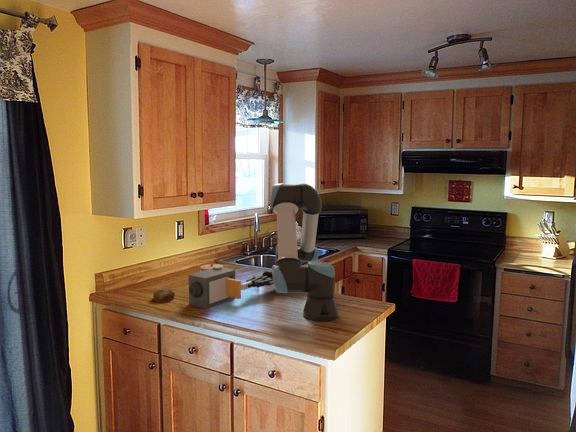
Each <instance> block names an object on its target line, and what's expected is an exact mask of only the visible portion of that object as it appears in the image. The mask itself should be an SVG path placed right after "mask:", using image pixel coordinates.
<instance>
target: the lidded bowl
mask: <svg viewBox="0 0 576 432" xmlns="http://www.w3.org/2000/svg"><path fill="white" fill-rule="evenodd" d="M216 266H219V267H222V268H225V267H224V265H223V264H218V263H213V262H210V263H207V264H203V265H201V266H199V270H200V271H199V272H201V271H204V270H208V269H212V268H213V267H216Z"/></svg>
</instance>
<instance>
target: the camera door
mask: <svg viewBox="0 0 576 432" xmlns="http://www.w3.org/2000/svg"><path fill="white" fill-rule="evenodd" d="M241 284H242V281H241V279H236V278H235V279H231V278H228V277H224V278H221V279H217V280H214V281H210V282H209V304H211V303H214V302H217V301H220V300H222V299H225V298H228V297H232V298H234V299H236V300H240V299H242V290H241Z"/></svg>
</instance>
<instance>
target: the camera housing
mask: <svg viewBox="0 0 576 432" xmlns="http://www.w3.org/2000/svg"><path fill="white" fill-rule="evenodd" d="M187 276H188V305H190V304H191V305H190V306H195V307H197V308H198V307H200V308H202V309H209V308H212V307H214V306H217V305H219V304H223V303H227V302H228V301H230V300H231V301H232V300H234V299H235V298H232V297H228V298H225V299H222V300H220V301H217V302H214V303H211V304H209V282H210V281H214V280H217V279H221V278H224V277H228V278H231V279H236V269H232V268H227V267H226V268H225V267H224V268H222V267H219V266H216V267H213V268H212V269H208V270H204V271H201V272H200V271H198V272H194V273H190V274H188V275H187Z"/></svg>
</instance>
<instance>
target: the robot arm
mask: <svg viewBox="0 0 576 432" xmlns="http://www.w3.org/2000/svg"><path fill="white" fill-rule="evenodd" d="M322 207H323V206H322V199H321V196H320V194H319V192H318V191H317V190H316V189H315V188H314V187H313V186H312V185H310V184H307V183H283V182H282V183H275V184H273V185H272V188H271V194H270V204H269V208H270V209H272V210H273V213H274V214H276V230H277V244H276V246H275V262H274V265H272V267H271V269H269V270H266V271H264V272H263V273H262V274H261V275H259V276H257V277H256V275H252V276H251V277H249V278H248V279H246V282H243V283H241V291H245V290H247V289H250V288H255V287H256V288H262V287H265V286H266V287H267V286H268V287H269V286H273V288H274V290H275V292H276V293H278V294H297V293H298V294H300V293H301V294H306V293H307V294H306V295H307V297H306V298H307V299H306V300H305V305H304V306H303V311H302V316H303V317H304V318H305V319H307V320H309V321H314V320H315V322H316V321H317V322H327V321H328V320H329V321H332V320H333V319H334V320H336V319H337V318H338V317H339V311H338V307H337V303H336V301H335V281H336V280H335V278H336V274H335V267H334V265H332V264H330V263H328V262H325V261H318V258H319V250H318V248H317V247H316V241H317V231H318V230H317V229H318V223H319V214H320V213H321V212H322ZM299 209H301V211H302V224H301V236H300V247H299V246H298V242H297V241H298V240H297V239H298V238H297V224H296V223H297V221H296V214H297V212H299ZM302 262H303V263H304V262H305V263H306V262H307V263H306V265H303V263H302ZM335 318H336V319H335Z"/></svg>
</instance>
